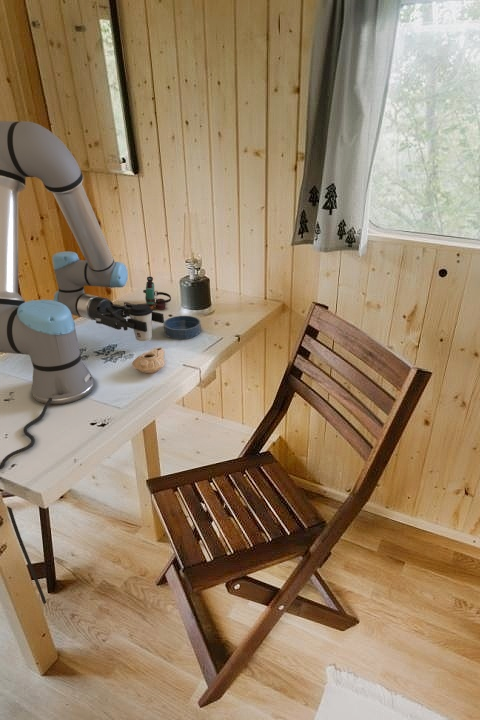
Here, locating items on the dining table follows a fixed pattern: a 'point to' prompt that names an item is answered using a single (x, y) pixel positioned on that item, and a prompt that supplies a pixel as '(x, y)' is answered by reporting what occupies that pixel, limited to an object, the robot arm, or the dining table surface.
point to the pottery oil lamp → (150, 361)
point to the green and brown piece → (151, 295)
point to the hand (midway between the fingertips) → (154, 322)
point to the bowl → (182, 327)
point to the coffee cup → (145, 315)
